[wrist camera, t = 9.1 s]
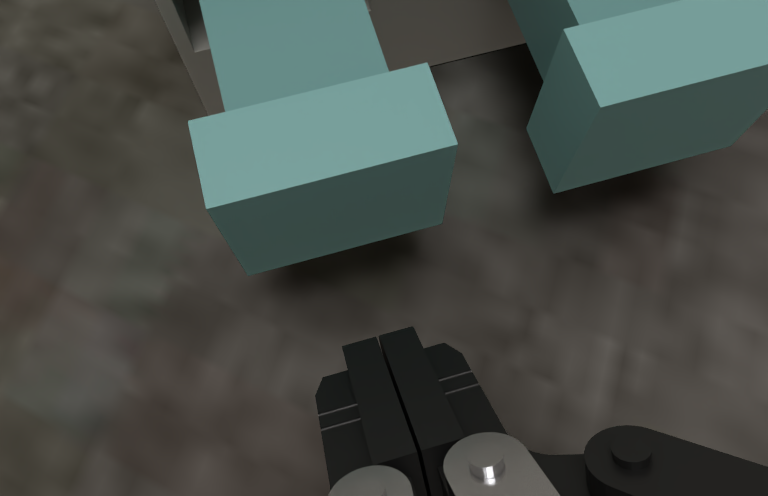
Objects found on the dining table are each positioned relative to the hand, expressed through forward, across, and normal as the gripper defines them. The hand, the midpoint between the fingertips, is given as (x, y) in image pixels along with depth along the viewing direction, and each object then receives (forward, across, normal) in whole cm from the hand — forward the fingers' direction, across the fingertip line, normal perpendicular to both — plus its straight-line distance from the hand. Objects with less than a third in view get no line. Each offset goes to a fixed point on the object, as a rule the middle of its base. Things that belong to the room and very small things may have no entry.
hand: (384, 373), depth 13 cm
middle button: (+7, -8, -4) cm, 11 cm away
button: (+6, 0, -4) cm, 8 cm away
